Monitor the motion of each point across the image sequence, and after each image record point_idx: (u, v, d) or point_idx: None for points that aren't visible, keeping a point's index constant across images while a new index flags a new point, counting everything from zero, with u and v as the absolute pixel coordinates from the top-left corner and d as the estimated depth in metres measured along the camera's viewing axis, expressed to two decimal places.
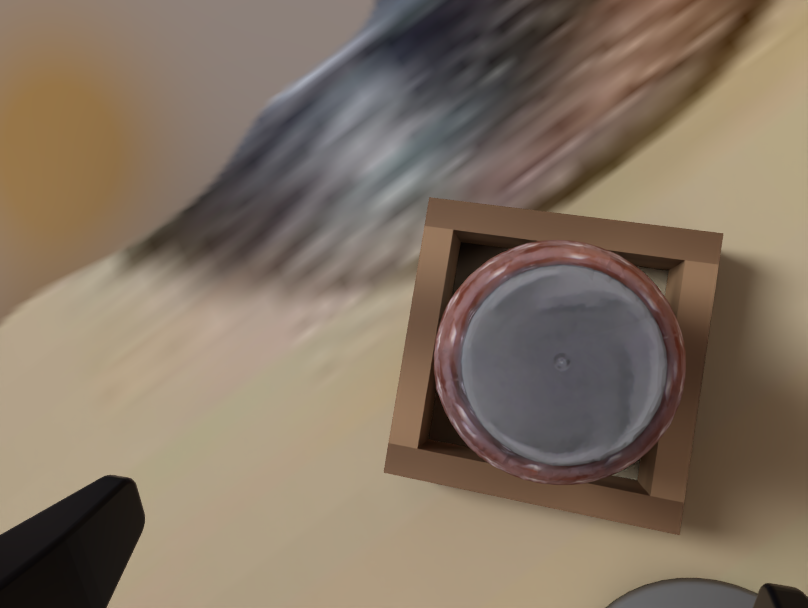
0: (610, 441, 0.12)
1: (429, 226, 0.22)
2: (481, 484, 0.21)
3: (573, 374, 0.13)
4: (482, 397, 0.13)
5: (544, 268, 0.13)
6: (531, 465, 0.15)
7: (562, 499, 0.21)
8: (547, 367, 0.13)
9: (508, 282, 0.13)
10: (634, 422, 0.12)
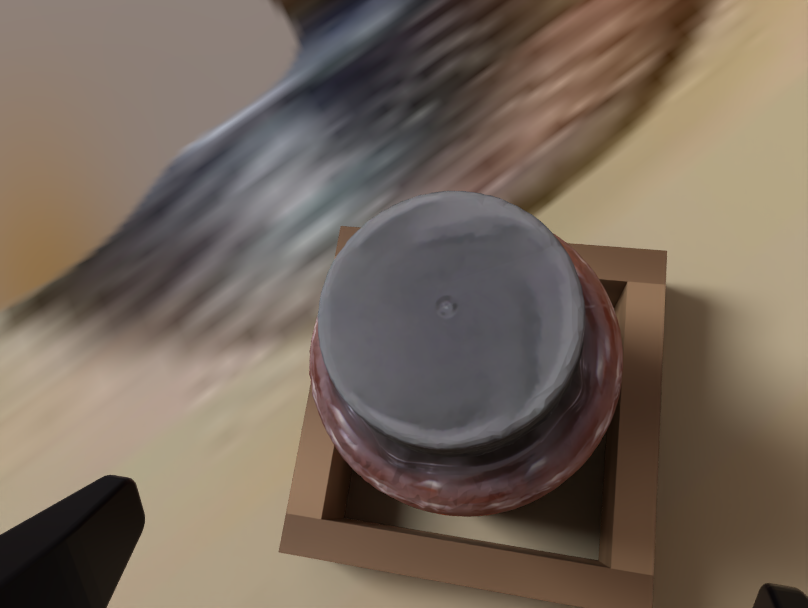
0: (514, 408, 0.09)
1: None
2: (400, 562, 0.17)
3: (462, 322, 0.09)
4: (343, 360, 0.09)
5: (423, 195, 0.10)
6: (428, 481, 0.11)
7: (501, 578, 0.16)
8: (428, 314, 0.09)
9: (378, 214, 0.10)
10: (545, 380, 0.09)
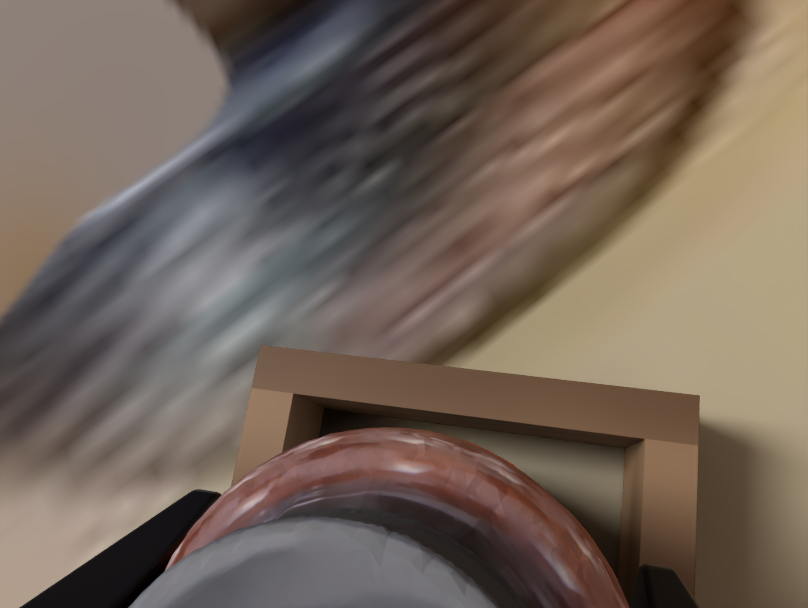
0: None
1: (258, 388, 0.15)
2: None
3: None
4: None
5: (267, 529, 0.05)
6: None
7: None
8: None
9: (181, 564, 0.05)
10: None
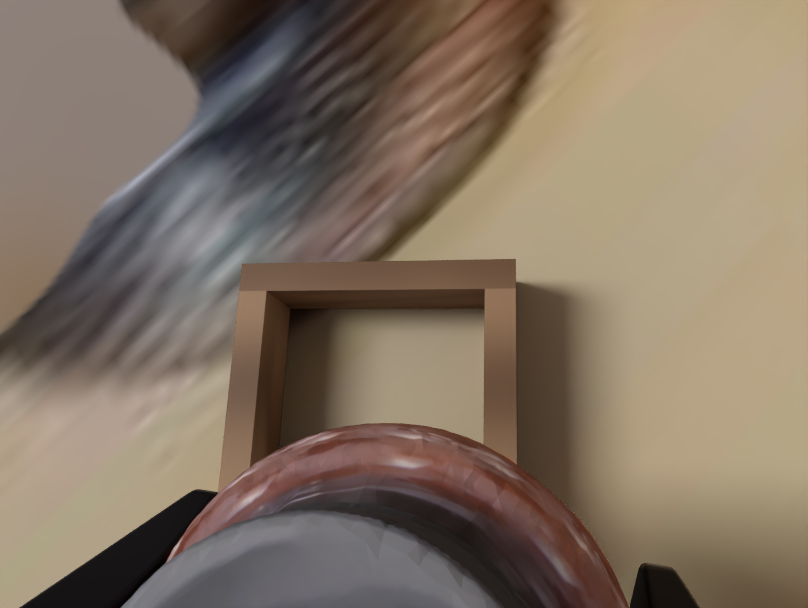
0: None
1: (244, 291, 0.23)
2: None
3: None
4: None
5: (265, 522, 0.05)
6: None
7: None
8: None
9: (180, 557, 0.05)
10: None
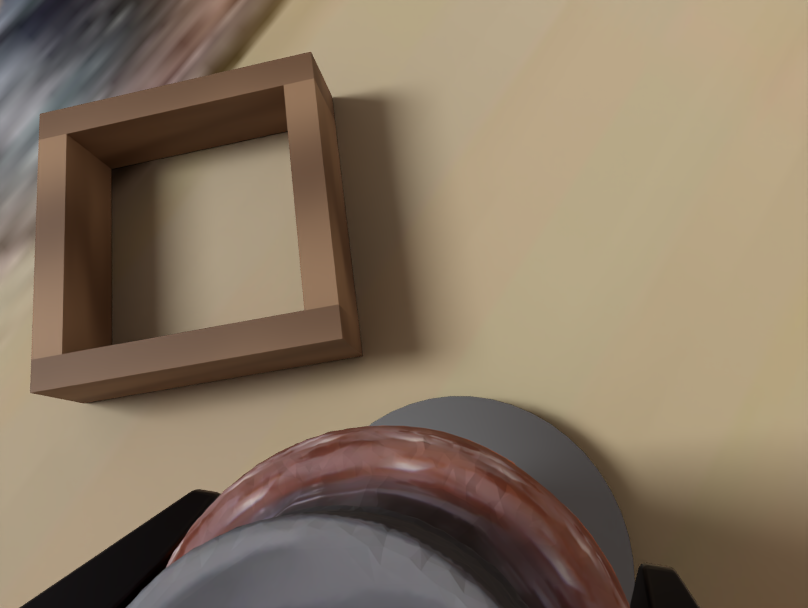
0: None
1: (44, 139, 0.22)
2: (134, 365, 0.19)
3: None
4: None
5: (267, 526, 0.05)
6: None
7: (218, 348, 0.18)
8: None
9: (182, 561, 0.05)
10: None
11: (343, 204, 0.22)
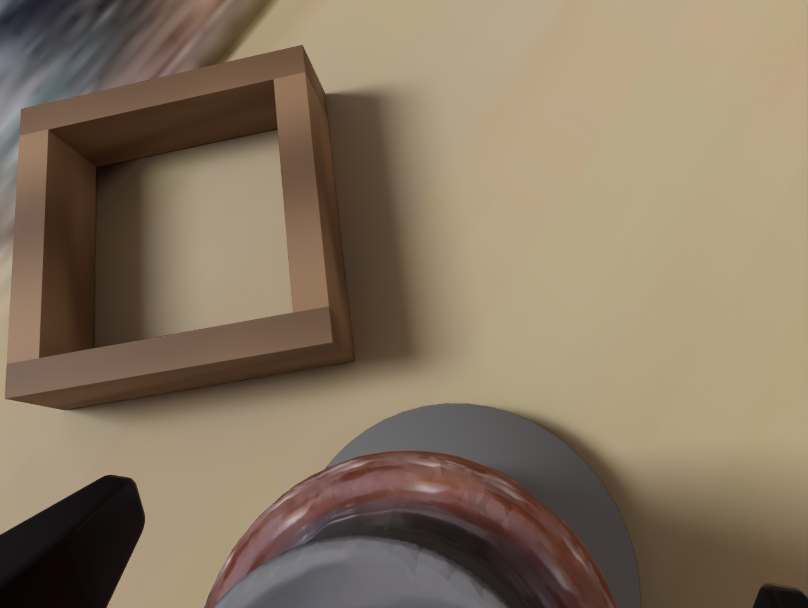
0: None
1: (25, 135, 0.21)
2: (113, 370, 0.18)
3: None
4: None
5: (322, 546, 0.06)
6: None
7: (203, 352, 0.18)
8: None
9: (253, 576, 0.06)
10: None
11: (335, 203, 0.21)
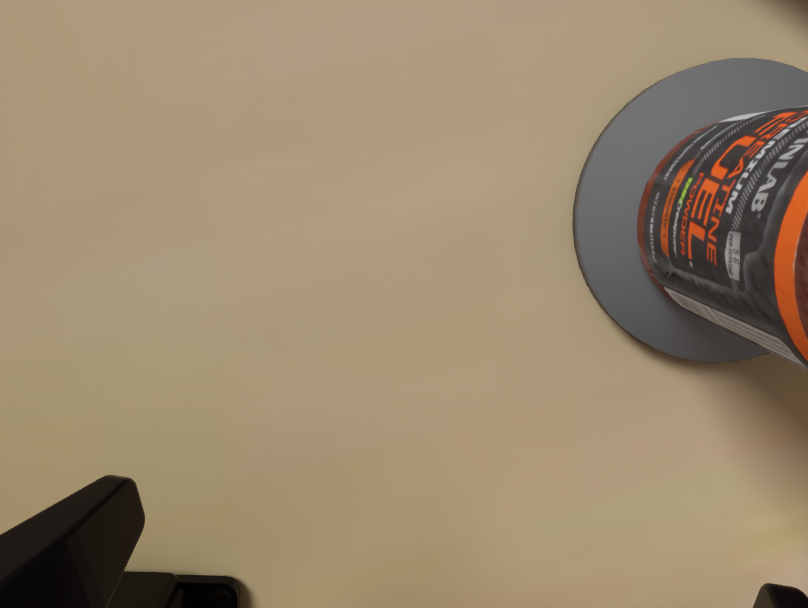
0: None
1: None
2: None
3: None
4: None
5: None
6: None
7: None
8: None
9: None
10: None
11: None
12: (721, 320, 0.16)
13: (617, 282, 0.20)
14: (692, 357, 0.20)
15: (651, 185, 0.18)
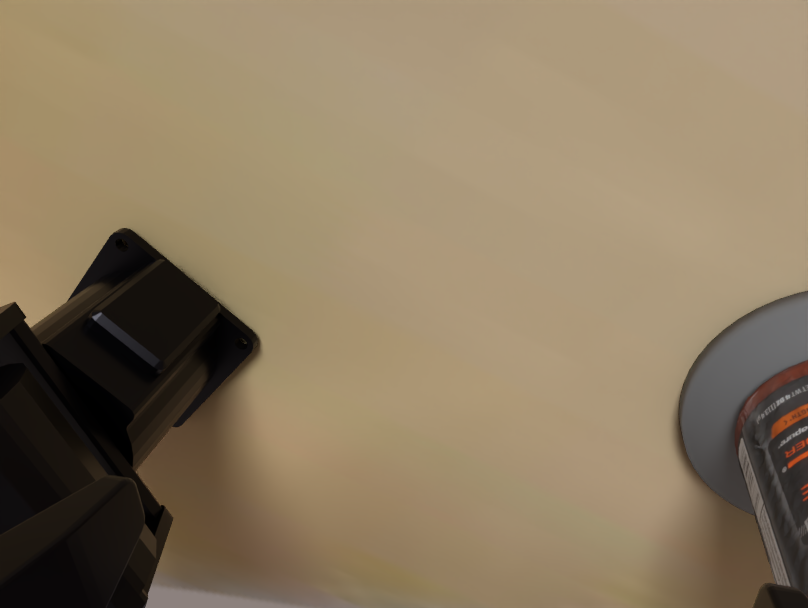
0: None
1: None
2: None
3: None
4: None
5: None
6: None
7: None
8: None
9: None
10: None
11: None
12: (761, 516, 0.18)
13: (712, 395, 0.21)
14: (703, 477, 0.22)
15: None
